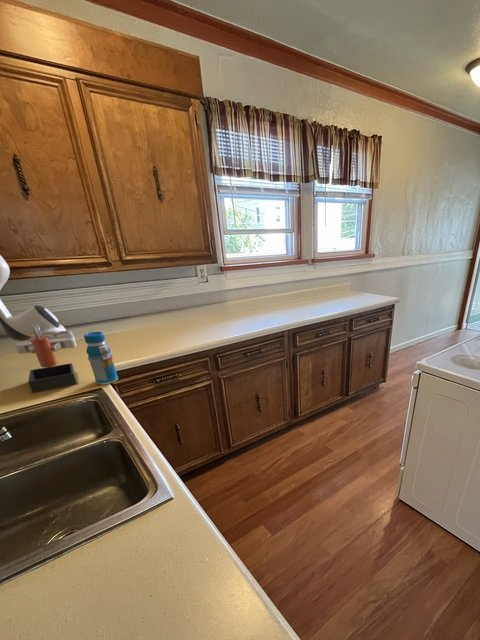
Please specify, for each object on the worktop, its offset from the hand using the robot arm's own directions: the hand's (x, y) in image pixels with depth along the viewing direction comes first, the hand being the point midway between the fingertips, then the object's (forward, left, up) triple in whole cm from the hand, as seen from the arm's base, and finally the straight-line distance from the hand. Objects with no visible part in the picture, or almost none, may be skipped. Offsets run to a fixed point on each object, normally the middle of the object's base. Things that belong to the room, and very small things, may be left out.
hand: (42, 350), depth 127 cm
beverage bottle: (+18, -10, -14) cm, 25 cm away
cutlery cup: (0, +1, -6) cm, 7 cm away
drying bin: (0, +1, -14) cm, 14 cm away
